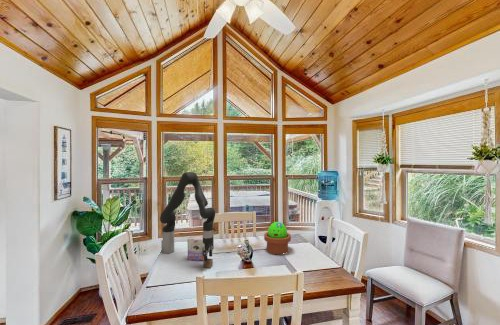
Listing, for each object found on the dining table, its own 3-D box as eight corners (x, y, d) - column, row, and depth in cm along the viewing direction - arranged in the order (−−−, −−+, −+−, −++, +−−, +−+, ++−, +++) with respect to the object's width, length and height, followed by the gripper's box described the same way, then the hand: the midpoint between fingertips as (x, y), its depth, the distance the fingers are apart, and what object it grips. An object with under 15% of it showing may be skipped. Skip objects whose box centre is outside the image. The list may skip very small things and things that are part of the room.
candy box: (207, 258, 191) (207, 237, 191) (205, 261, 185) (205, 239, 185) (190, 257, 192) (190, 236, 192) (187, 260, 186) (187, 238, 186)
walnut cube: (203, 268, 174) (203, 261, 174) (206, 265, 179) (206, 258, 179) (209, 268, 173) (209, 261, 173) (212, 265, 178) (212, 259, 178)
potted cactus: (267, 245, 219) (267, 217, 219) (292, 247, 214) (292, 219, 213) (261, 254, 198) (261, 223, 198) (289, 257, 192) (289, 225, 192)
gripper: (207, 232, 183) (207, 254, 183) (198, 238, 169) (198, 262, 170) (216, 233, 181) (216, 255, 182) (208, 239, 167) (209, 263, 168)
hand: (208, 258), depth 176 cm, fingers open, 8 cm apart
